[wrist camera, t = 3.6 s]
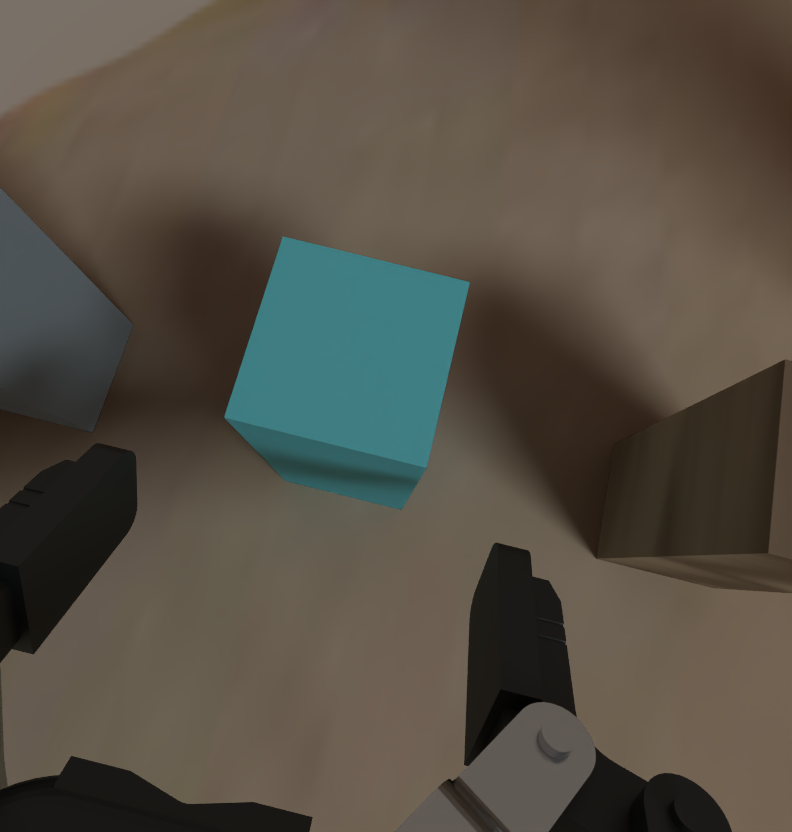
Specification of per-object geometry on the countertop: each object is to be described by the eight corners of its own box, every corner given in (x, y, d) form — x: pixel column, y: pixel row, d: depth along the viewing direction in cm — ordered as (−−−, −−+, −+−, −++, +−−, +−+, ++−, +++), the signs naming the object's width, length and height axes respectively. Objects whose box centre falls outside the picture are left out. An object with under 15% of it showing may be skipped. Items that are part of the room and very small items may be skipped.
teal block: (428, 397, 24) (469, 282, 14) (401, 509, 23) (426, 467, 13) (317, 370, 24) (283, 236, 14) (285, 480, 23) (224, 417, 13)
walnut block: (726, 471, 24) (976, 406, 14) (714, 588, 23) (975, 605, 13) (614, 443, 24) (785, 359, 14) (596, 558, 23) (768, 553, 13)
